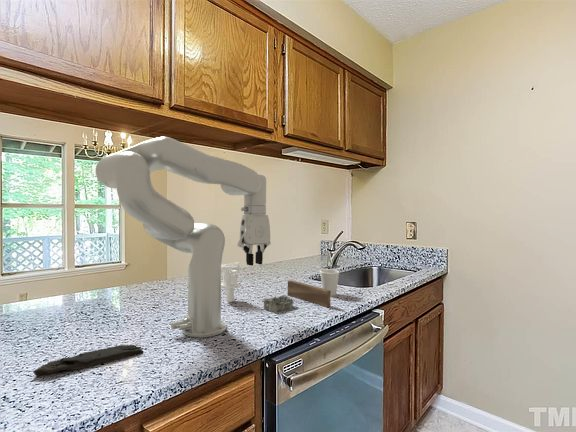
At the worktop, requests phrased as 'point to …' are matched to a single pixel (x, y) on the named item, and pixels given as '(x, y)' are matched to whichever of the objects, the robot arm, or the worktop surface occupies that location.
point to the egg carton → (278, 303)
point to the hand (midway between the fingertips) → (254, 263)
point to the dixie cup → (330, 280)
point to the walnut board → (309, 293)
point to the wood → (89, 359)
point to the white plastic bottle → (230, 280)
